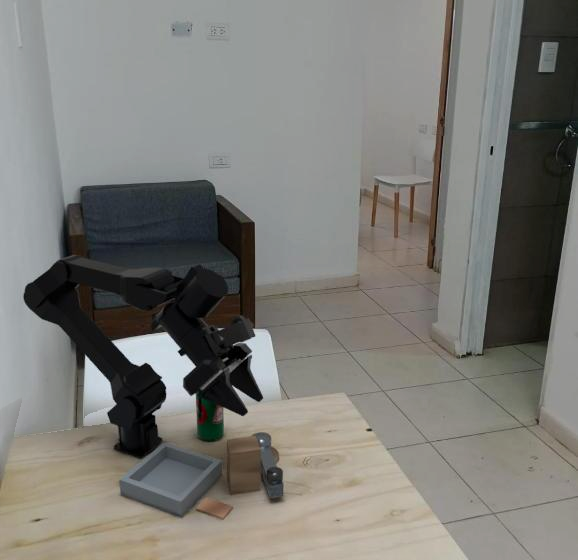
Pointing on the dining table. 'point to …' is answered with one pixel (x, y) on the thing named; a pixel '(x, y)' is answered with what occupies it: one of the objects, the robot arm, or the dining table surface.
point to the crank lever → (270, 467)
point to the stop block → (243, 465)
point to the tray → (171, 479)
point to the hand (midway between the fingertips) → (253, 406)
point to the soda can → (209, 419)
